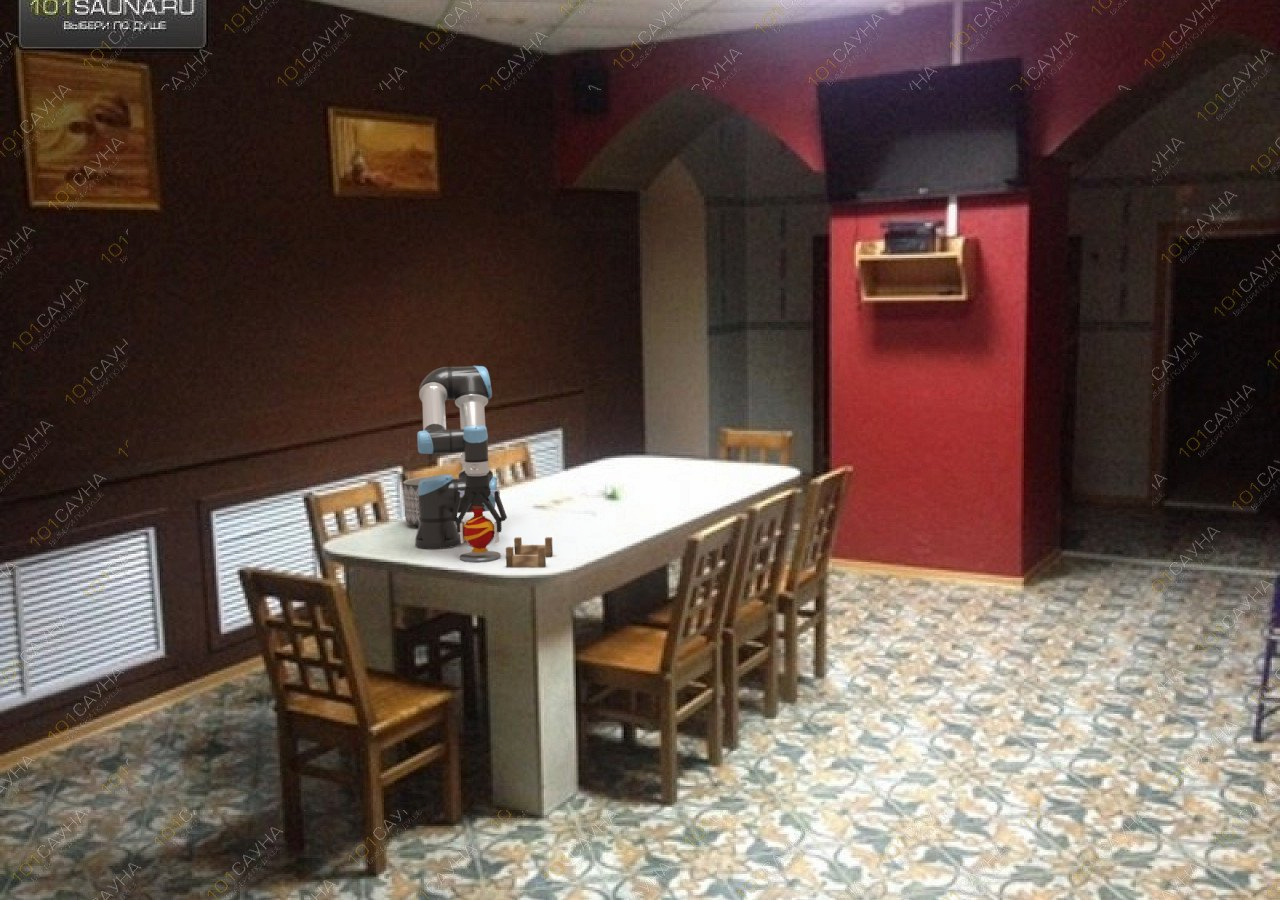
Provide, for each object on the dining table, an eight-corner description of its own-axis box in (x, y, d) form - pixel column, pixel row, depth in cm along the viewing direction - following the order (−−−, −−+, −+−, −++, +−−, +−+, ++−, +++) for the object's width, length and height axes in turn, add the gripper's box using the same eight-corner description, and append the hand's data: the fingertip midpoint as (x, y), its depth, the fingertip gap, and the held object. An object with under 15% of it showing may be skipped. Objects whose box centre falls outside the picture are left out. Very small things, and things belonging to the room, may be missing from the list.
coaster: (455, 562, 370) (455, 560, 370) (465, 553, 382) (465, 550, 382) (496, 562, 369) (496, 559, 368) (504, 553, 381) (504, 550, 381)
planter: (458, 528, 423) (456, 483, 421) (404, 531, 420) (402, 486, 418) (457, 518, 442) (456, 475, 440) (406, 521, 439) (404, 477, 437)
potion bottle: (478, 556, 368) (476, 509, 366) (457, 551, 375) (455, 505, 373) (503, 550, 376) (501, 504, 374) (482, 545, 383) (480, 500, 380)
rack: (506, 567, 362) (505, 548, 361) (515, 555, 378) (515, 537, 377) (544, 567, 361) (544, 548, 360) (552, 555, 377) (552, 537, 376)
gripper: (438, 476, 369) (441, 544, 372) (510, 475, 367) (512, 544, 370) (444, 472, 376) (447, 539, 380) (514, 472, 375) (517, 539, 378)
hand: (479, 542), depth 375 cm, fingers closed on potion bottle, 10 cm apart
